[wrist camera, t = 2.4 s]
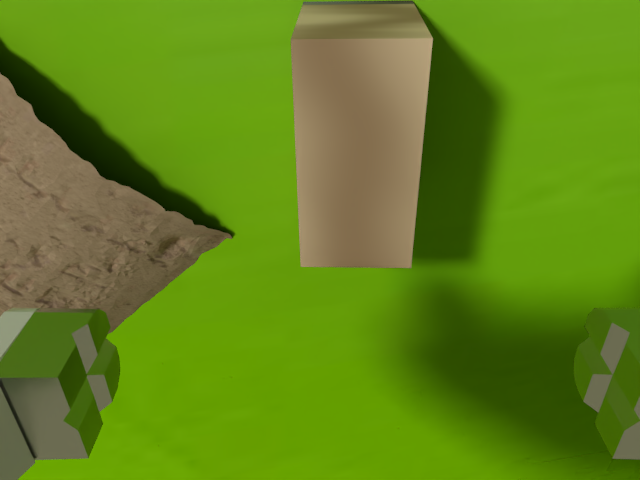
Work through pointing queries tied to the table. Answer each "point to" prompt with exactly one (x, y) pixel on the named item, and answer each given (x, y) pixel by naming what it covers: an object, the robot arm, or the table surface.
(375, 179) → the block
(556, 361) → the table surface
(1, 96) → the clay tablet
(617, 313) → the robot arm
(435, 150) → the table surface
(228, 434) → the table surface
